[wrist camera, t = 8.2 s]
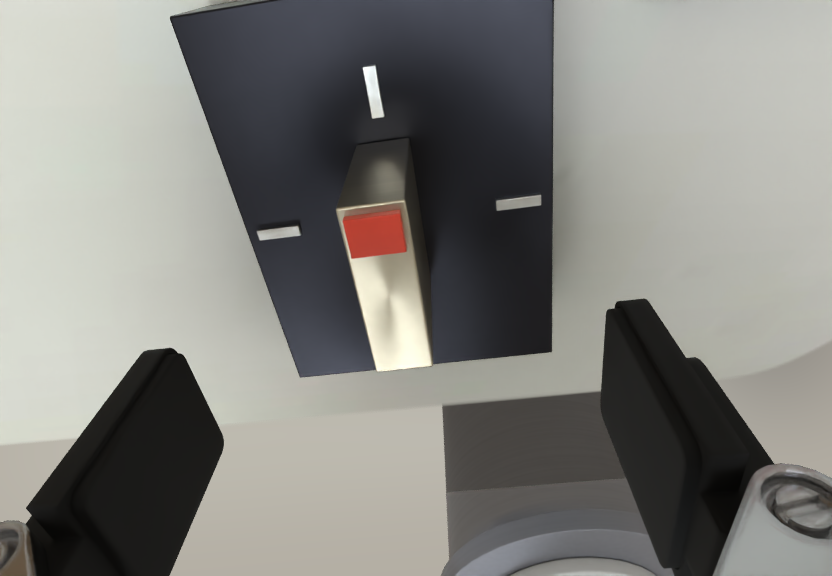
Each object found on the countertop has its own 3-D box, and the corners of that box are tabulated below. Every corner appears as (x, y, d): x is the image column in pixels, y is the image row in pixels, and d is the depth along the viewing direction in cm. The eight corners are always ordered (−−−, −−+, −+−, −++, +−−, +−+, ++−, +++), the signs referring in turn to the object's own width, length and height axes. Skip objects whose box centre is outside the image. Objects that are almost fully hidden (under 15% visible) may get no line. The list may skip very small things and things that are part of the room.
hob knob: (430, 279, 18) (433, 372, 14) (385, 284, 18) (375, 379, 14) (409, 137, 15) (404, 204, 11) (356, 144, 15) (333, 213, 11)
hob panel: (537, 306, 22) (553, 355, 20) (313, 331, 23) (298, 381, 20) (532, -49, 15) (555, -48, 12) (208, 6, 16) (165, 17, 13)
